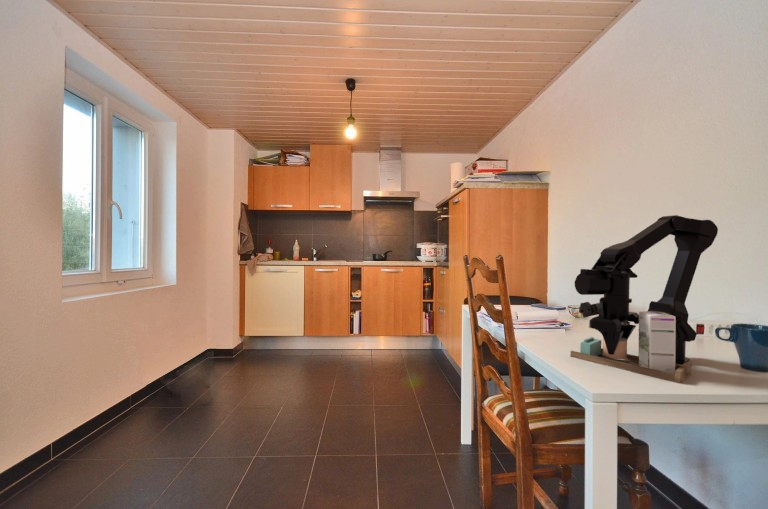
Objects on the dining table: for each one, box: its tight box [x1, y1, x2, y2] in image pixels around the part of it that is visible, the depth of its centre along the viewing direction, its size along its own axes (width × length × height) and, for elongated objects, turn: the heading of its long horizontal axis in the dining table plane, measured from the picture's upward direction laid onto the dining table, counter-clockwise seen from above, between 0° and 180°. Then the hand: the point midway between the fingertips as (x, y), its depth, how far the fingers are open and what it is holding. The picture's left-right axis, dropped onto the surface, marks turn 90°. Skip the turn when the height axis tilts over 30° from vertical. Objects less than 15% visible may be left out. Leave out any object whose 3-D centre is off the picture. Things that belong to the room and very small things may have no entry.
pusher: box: [579, 336, 602, 357], centre depth 99 cm, size 8×2×5 cm, turn 128°
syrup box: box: [637, 310, 676, 374], centre depth 87 cm, size 6×6×14 cm
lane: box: [569, 347, 692, 384], centre depth 92 cm, size 10×24×2 cm, turn 38°
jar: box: [602, 337, 628, 360], centre depth 94 cm, size 5×5×5 cm
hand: (615, 352), depth 94 cm, fingers closed on jar, 5 cm apart
